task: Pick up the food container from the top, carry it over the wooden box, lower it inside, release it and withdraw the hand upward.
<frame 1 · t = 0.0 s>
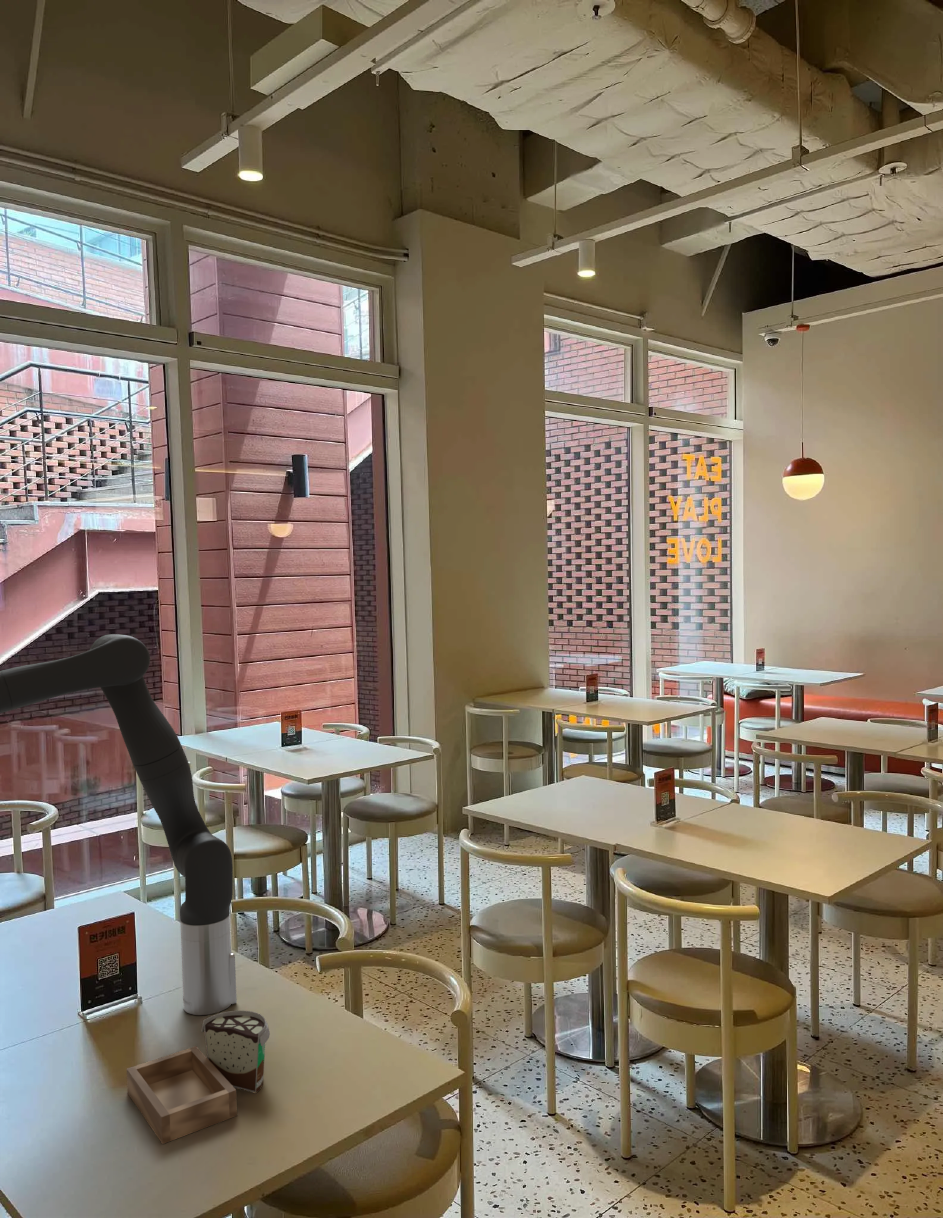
wooden box: (180, 1104, 145), on the table
food container: (245, 1079, 153), on the table
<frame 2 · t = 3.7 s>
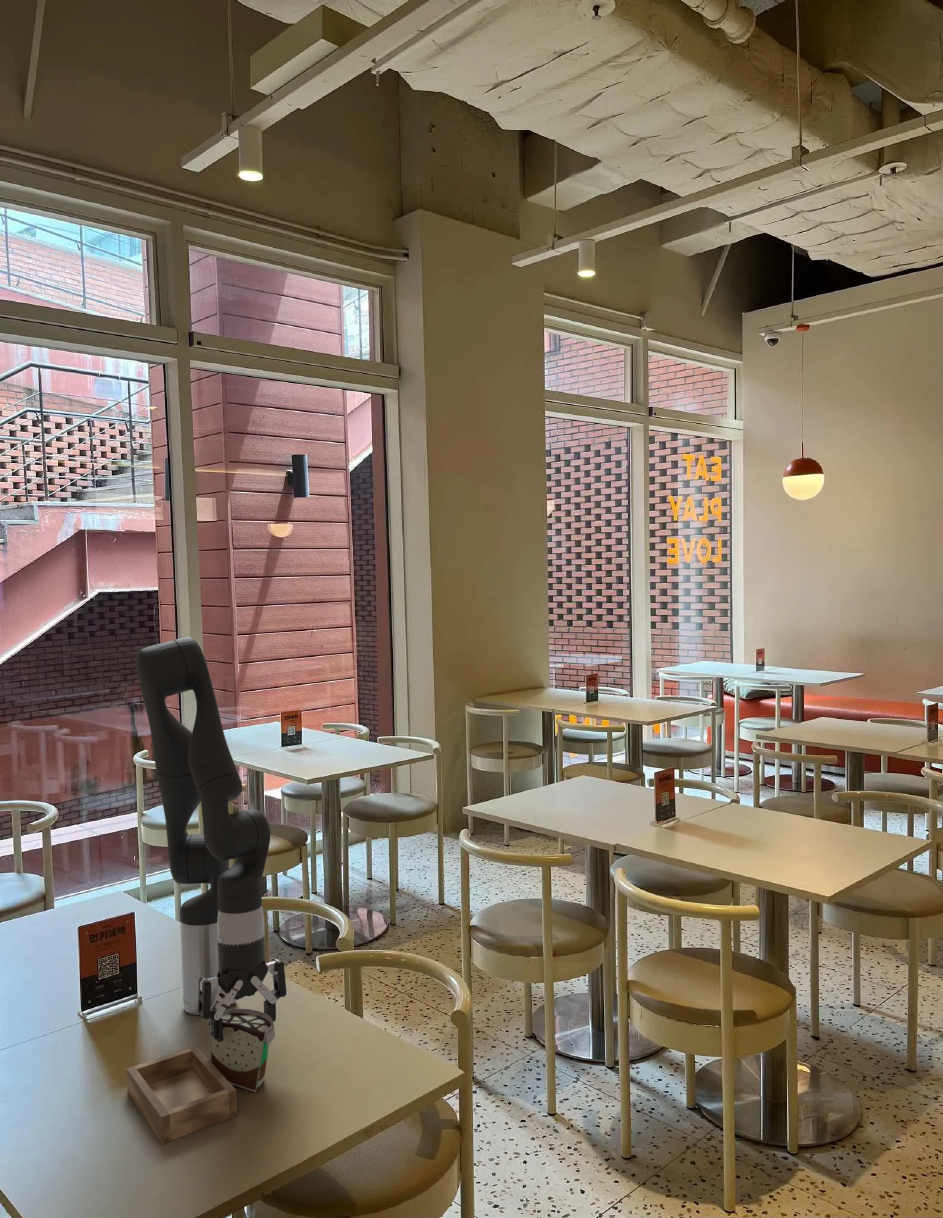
hand: (244, 1032, 152), 8 cm above the table, tool pointing down, fingers open, 8 cm apart
food container: (244, 1078, 153), on the table, touching gripper
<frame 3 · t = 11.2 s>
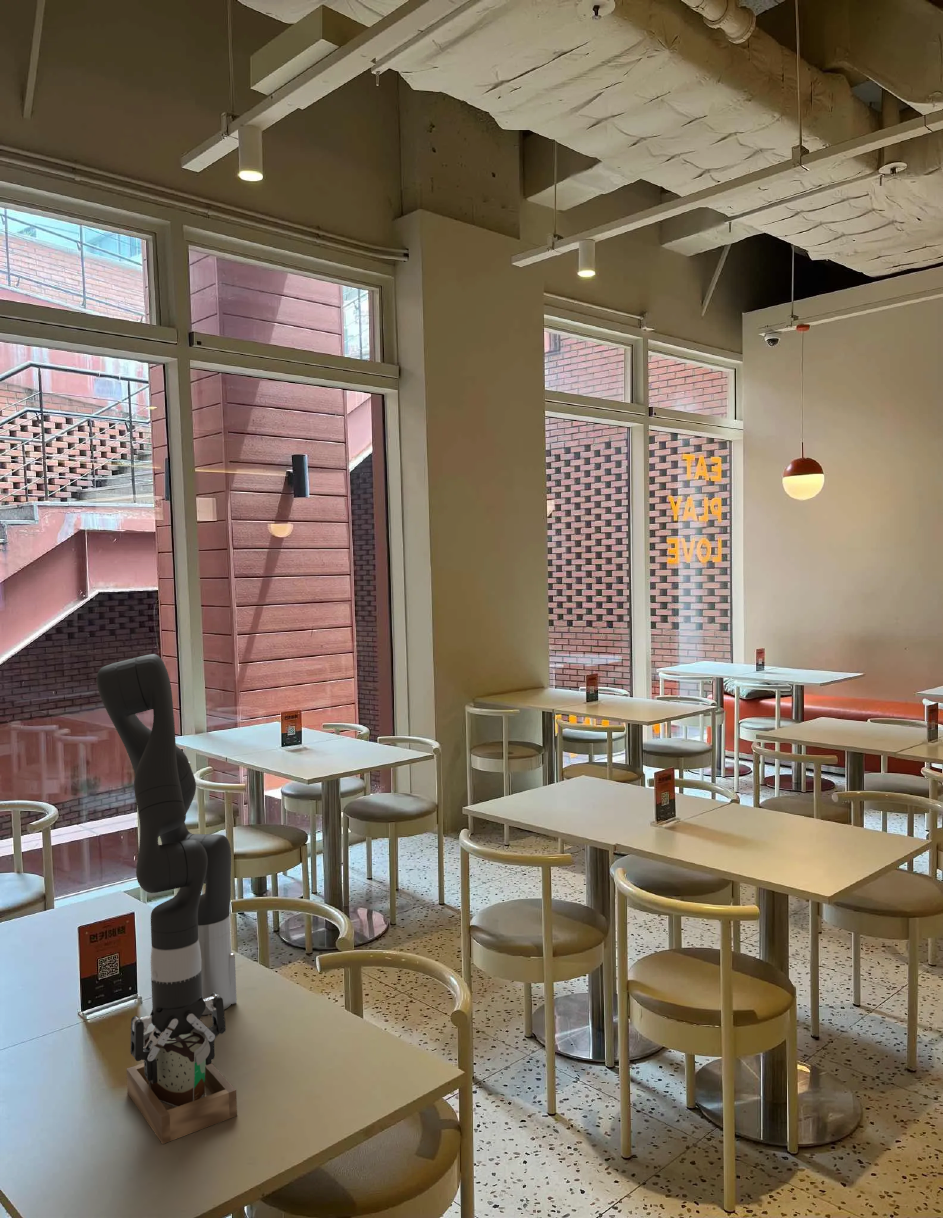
hand: (180, 1072, 145), 5 cm above the table, tool pointing down, fingers open, 8 cm apart
food container: (186, 1097, 146), point 1 cm above the table, touching gripper, wooden box
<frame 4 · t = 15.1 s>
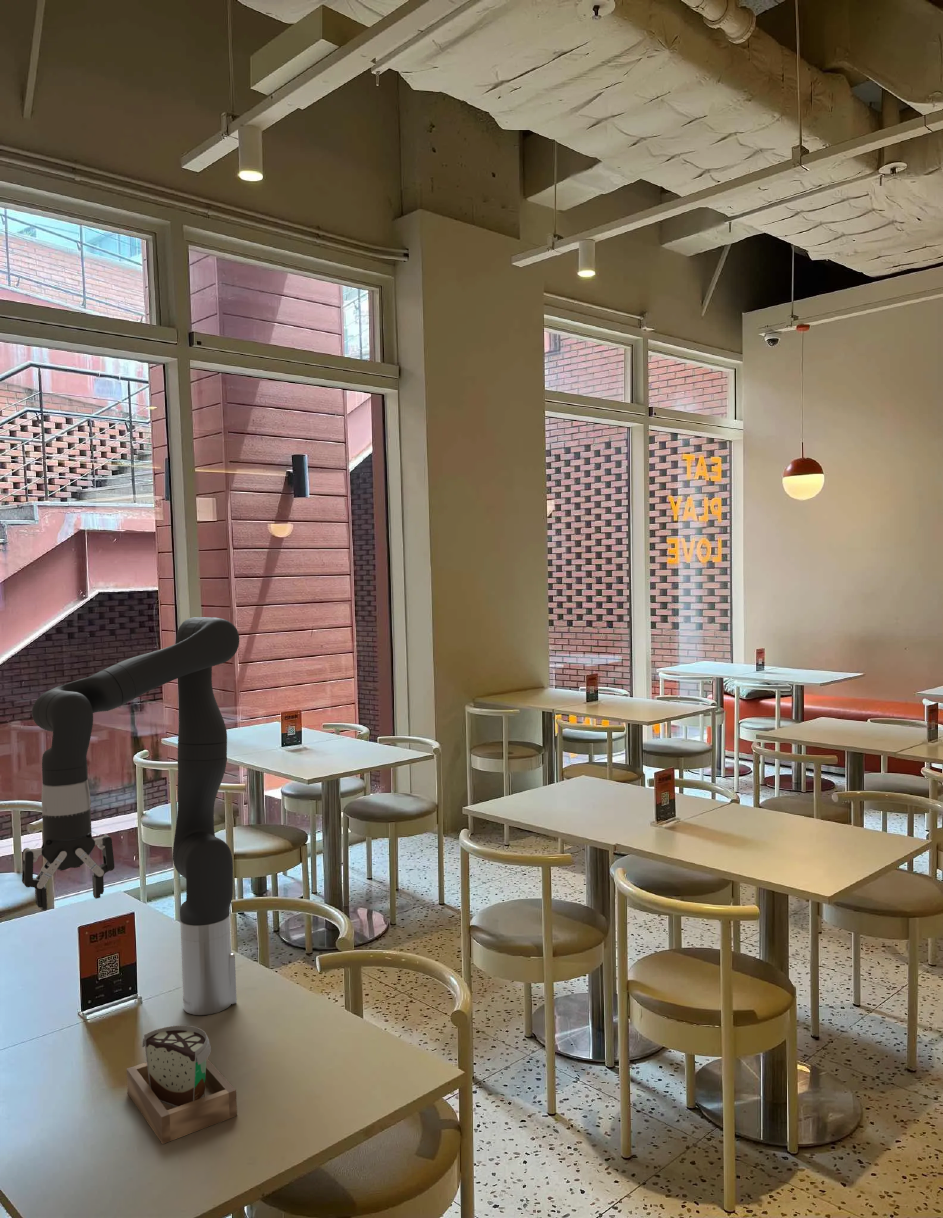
hand: (70, 903, 157), 28 cm above the table, tool pointing down, fingers open, 8 cm apart
food container: (186, 1097, 146), point 1 cm above the table, touching wooden box
at the end: food container 1.0 cm from the wooden box (horizontally); food container point 0.6 cm above the table; food container tilted 0° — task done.
